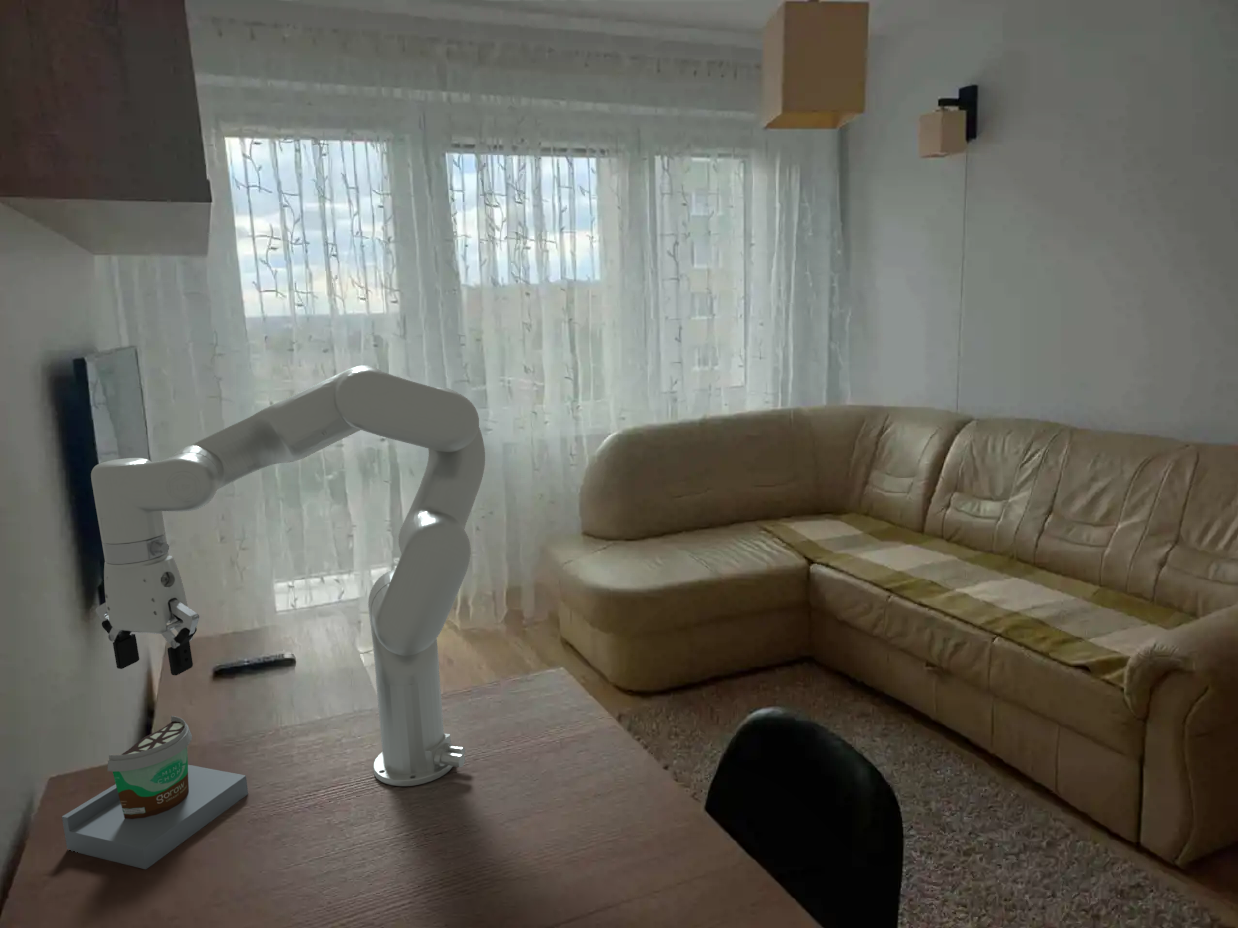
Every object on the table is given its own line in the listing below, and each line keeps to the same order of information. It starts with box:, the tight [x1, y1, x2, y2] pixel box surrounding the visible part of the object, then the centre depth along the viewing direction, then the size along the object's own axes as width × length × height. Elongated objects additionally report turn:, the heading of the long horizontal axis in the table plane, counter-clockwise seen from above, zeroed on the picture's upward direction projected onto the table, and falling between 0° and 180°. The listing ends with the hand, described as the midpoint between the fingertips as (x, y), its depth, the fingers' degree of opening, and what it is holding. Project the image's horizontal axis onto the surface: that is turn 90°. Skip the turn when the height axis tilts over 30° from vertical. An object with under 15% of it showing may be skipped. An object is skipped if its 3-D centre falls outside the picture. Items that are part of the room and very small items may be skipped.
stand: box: [61, 764, 249, 870], centre depth 119 cm, size 14×18×5 cm
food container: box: [107, 715, 193, 819], centre depth 118 cm, size 12×6×10 cm, turn 166°
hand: (155, 667), depth 116 cm, fingers open, 9 cm apart
